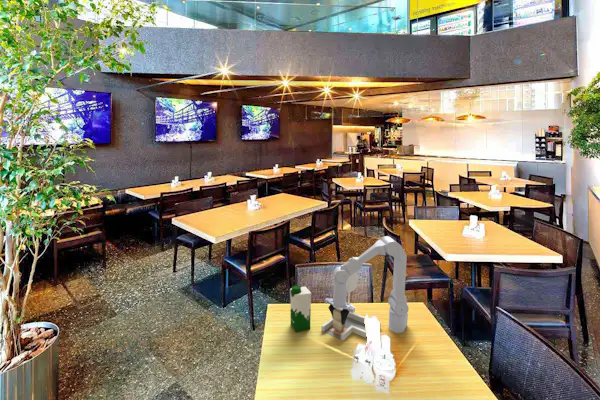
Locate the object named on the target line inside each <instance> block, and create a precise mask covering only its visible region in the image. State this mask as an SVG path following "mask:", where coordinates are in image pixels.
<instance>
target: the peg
mask: <svg viewBox="0 0 600 400" xmlns="http://www.w3.org/2000/svg"><path fill="white" fill-rule="evenodd" d="M342 310H343V309H342V308H335V309H334V310H333V329H336V330H338V331H340V332H341V331H342V330H343V329H344V328H345V324H344V325H342V322H341V313H340V311H342Z"/></svg>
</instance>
